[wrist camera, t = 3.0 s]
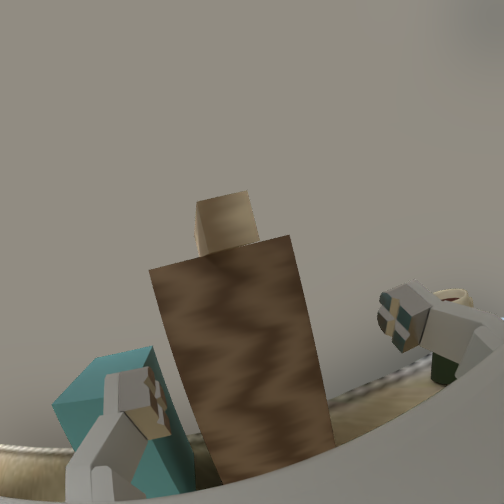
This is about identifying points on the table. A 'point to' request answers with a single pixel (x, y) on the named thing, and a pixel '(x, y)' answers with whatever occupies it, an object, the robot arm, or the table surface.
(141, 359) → the teal rectangular block
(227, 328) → the pillar
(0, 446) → the table surface
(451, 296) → the character mug
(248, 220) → the baton
